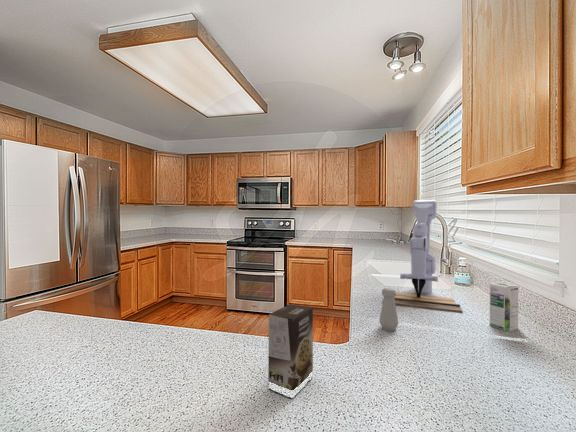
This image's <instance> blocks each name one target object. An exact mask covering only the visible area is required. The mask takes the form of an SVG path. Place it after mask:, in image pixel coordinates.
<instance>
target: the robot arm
mask: <svg viewBox="0 0 576 432" xmlns="http://www.w3.org/2000/svg"><path fill="white" fill-rule="evenodd" d="M412 210H413V213H414V217H415V219H416V220H417V221H416V223H415V225H414V226H413V230H412V236H411V237H410V239H409V249H410V250H409V251H410V256H411V258H410V263H411V266H410V269H411V270H410V271H411V273H400V275H399V276H400V279H401V280H403V279H405V280H411V283H412V286H413V287H414V291H415V294H416V295H417V297H420V296H421V295H422V294H432V293H433V282H436V283H437V282H439V278H438V276H437V275H434V274H435V273H436V268H437V266H436V258H435V256H433V255H432V253H430V243H431V242H430V240H431V239H430V237H431V224H432V220H434V219H436V218H437V217H436V216H437V201H436V199H430V200H429V199H424V200H421V199H420V200H413V204H412Z"/></svg>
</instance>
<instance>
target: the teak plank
mask: <svg viewBox="0 0 576 432" xmlns="http://www.w3.org/2000/svg"><path fill="white" fill-rule="evenodd" d="M394 298H403V299H412V300H422V301H431V302H441V303H450V304H457V302H456V301H455V299H454V298H453V297H446V296H444V297H443V296H436V295H426V294H425V295H424V294H421V296H420V297H417V294H416V293H415V294H414V293H406V292H405V293H403V292H396V296H395V297H394Z"/></svg>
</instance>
